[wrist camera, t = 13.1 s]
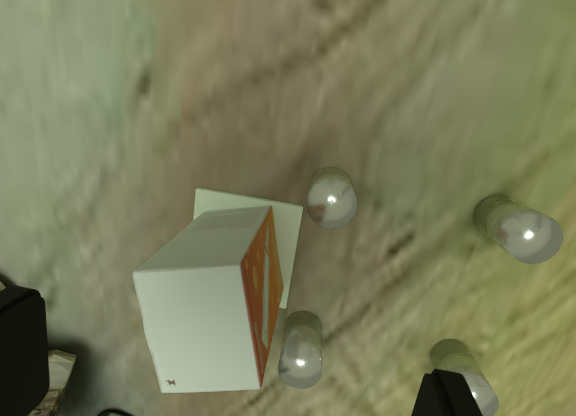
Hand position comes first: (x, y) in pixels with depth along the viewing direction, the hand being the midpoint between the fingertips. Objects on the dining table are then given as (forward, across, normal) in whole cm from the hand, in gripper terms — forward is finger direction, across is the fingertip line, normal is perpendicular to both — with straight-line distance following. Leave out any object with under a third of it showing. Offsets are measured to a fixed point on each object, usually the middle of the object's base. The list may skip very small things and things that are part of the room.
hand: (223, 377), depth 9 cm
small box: (+23, +4, +7) cm, 24 cm away
